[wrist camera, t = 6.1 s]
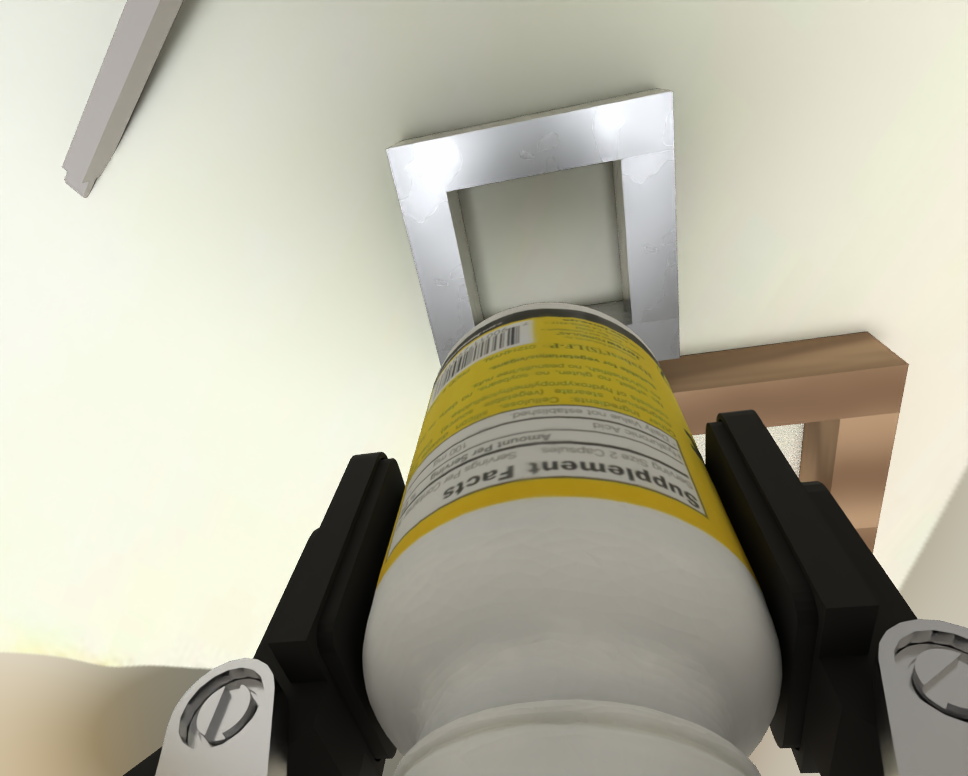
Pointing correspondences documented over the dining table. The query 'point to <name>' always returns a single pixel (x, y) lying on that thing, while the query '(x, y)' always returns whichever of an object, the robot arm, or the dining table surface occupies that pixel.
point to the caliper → (117, 88)
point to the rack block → (809, 408)
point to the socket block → (537, 150)
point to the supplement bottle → (565, 572)
